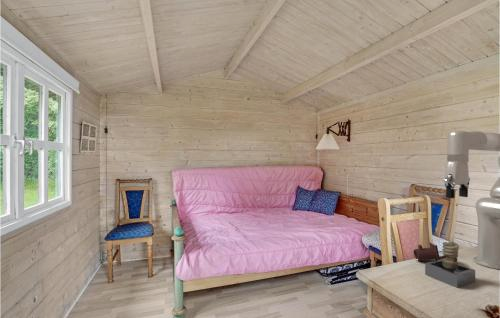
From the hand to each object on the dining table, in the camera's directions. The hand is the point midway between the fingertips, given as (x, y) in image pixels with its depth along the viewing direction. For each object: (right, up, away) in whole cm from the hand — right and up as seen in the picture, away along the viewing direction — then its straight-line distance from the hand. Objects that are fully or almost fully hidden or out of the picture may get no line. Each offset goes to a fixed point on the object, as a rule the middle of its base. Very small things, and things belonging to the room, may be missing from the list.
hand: (456, 197), depth 117 cm
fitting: (-8, -33, -6) cm, 35 cm away
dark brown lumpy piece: (-2, -34, +9) cm, 35 cm away
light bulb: (-8, -33, -6) cm, 35 cm away
